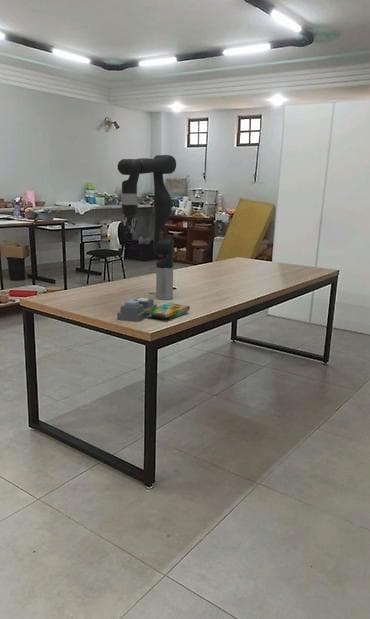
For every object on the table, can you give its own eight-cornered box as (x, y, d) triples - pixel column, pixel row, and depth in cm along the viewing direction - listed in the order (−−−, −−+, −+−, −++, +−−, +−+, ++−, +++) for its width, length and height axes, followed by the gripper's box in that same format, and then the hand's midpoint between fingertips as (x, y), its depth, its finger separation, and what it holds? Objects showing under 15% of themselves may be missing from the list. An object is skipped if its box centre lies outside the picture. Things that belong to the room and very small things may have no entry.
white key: (140, 303, 234) (140, 297, 233) (149, 304, 232) (149, 298, 232) (136, 306, 229) (136, 300, 228) (145, 306, 228) (145, 300, 227)
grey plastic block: (136, 308, 237) (136, 296, 236) (156, 310, 234) (156, 298, 233) (117, 319, 217) (116, 306, 215) (139, 321, 214) (139, 308, 212)
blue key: (129, 306, 221) (129, 300, 221) (139, 307, 220) (139, 301, 219) (124, 308, 217) (124, 302, 216) (134, 309, 215) (134, 303, 215)
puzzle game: (189, 304, 229) (165, 312, 213) (189, 313, 231) (165, 322, 214) (170, 301, 236) (145, 308, 219) (170, 310, 237) (145, 318, 221)
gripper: (128, 202, 229) (128, 238, 233) (116, 203, 217) (116, 241, 221) (142, 203, 227) (142, 239, 231) (131, 204, 214) (131, 242, 219)
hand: (130, 240), depth 226 cm, fingers closed
